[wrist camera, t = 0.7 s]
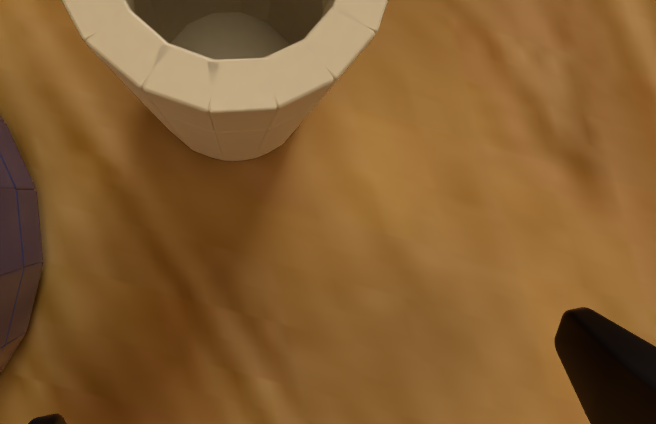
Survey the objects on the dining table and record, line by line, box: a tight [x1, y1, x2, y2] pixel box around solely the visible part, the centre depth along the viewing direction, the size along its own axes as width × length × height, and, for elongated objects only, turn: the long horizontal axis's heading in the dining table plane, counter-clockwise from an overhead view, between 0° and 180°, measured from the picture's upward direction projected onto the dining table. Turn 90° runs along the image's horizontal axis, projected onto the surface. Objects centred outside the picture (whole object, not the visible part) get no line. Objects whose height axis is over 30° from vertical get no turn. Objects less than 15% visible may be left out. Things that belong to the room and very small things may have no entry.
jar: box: [62, 0, 388, 161], centre depth 16 cm, size 6×6×12 cm
